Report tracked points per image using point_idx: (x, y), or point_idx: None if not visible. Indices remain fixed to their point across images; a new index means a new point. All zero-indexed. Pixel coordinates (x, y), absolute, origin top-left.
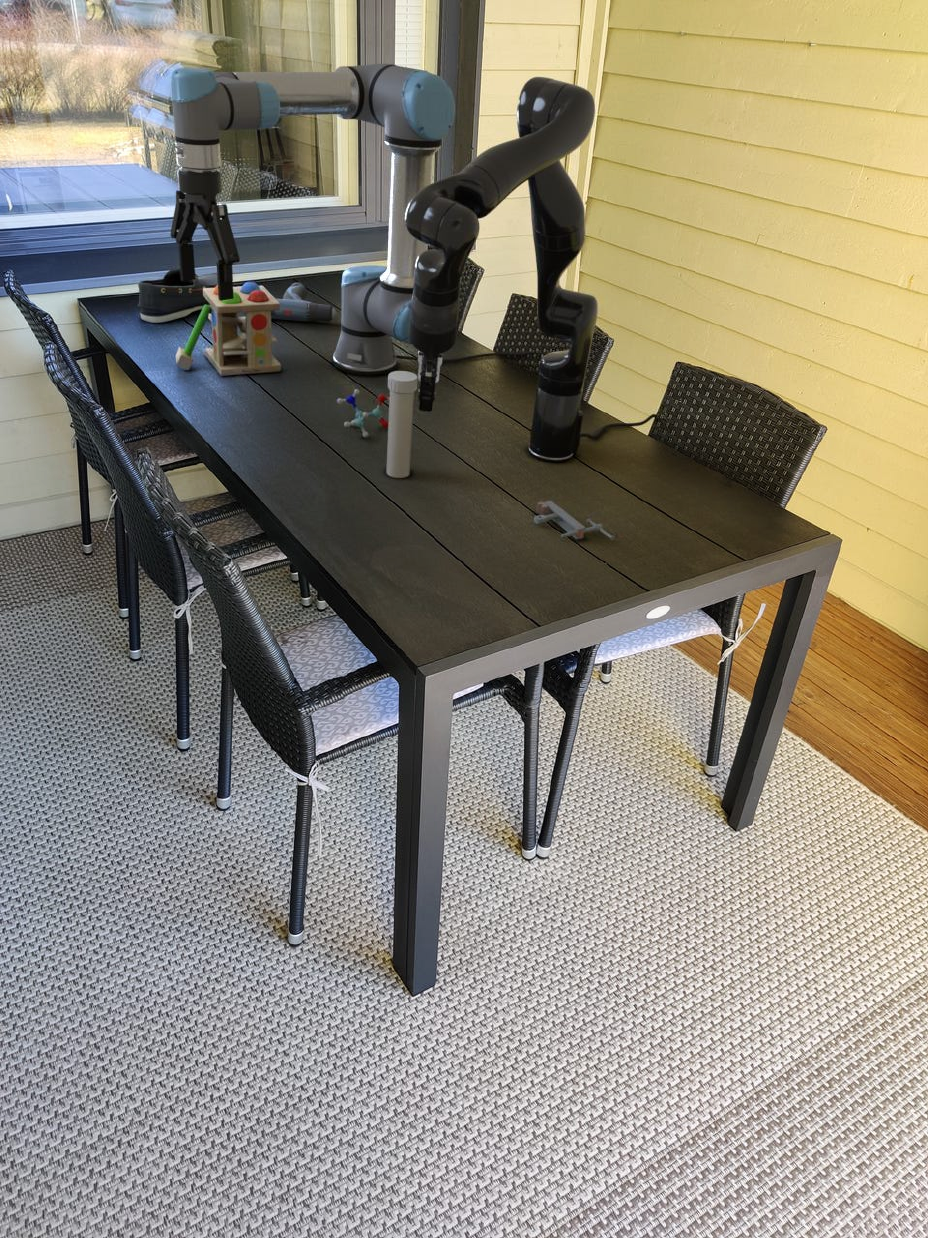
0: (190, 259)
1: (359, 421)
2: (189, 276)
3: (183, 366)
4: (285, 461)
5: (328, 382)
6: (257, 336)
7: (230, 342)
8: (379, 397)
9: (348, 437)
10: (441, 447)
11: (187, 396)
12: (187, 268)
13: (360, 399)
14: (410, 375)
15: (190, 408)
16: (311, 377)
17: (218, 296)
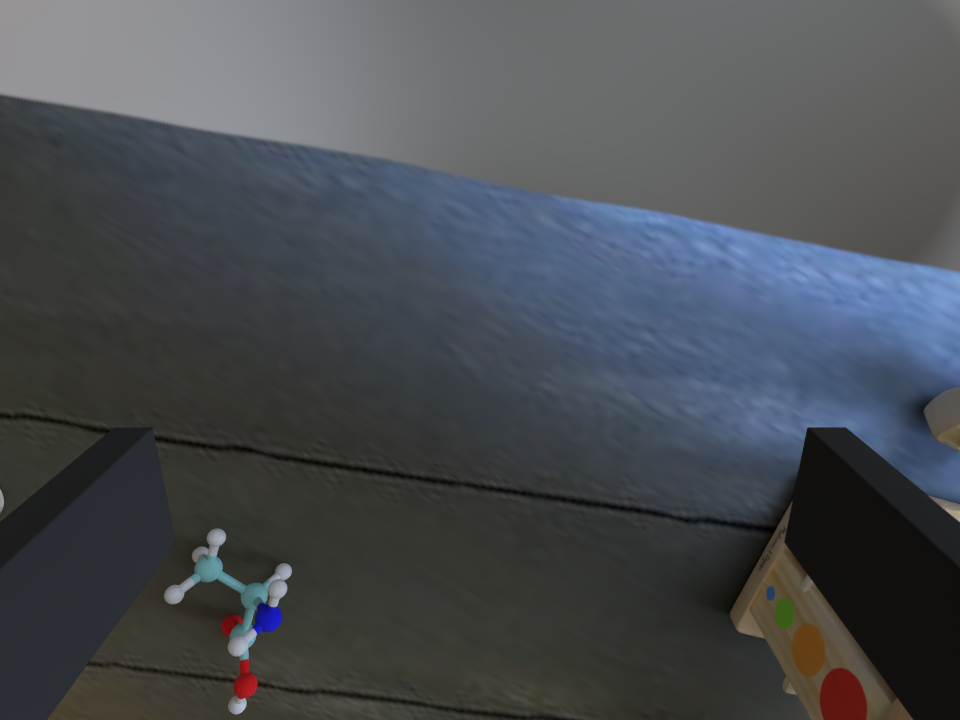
0: (909, 658)
1: (195, 569)
2: (812, 511)
3: (942, 400)
4: (154, 288)
5: (583, 668)
6: (816, 652)
7: None
8: (240, 682)
9: (230, 516)
10: None
11: (749, 297)
12: (858, 547)
13: (437, 669)
14: None
15: (658, 254)
16: (640, 654)
17: (136, 439)
